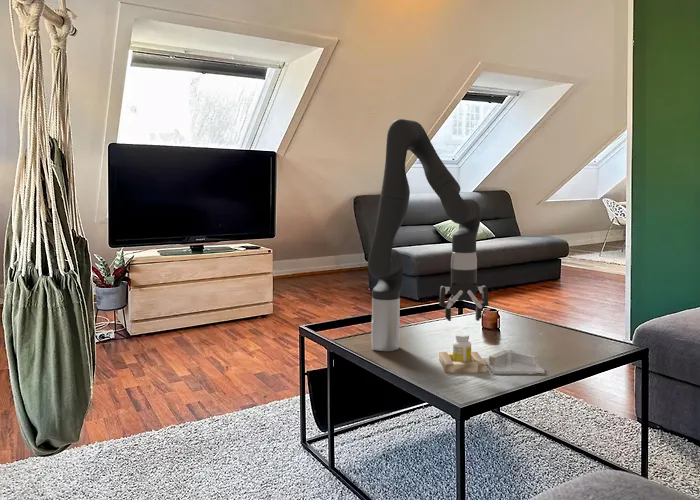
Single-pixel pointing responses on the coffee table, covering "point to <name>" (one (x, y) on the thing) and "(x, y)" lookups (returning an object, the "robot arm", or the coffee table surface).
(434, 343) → the coffee table surface
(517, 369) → the v block
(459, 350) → the supplement bottle
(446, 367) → the square frame block
